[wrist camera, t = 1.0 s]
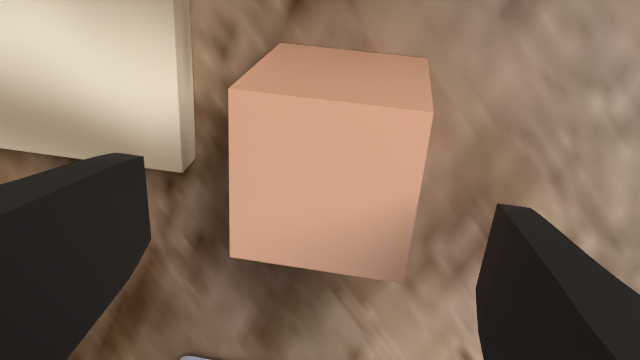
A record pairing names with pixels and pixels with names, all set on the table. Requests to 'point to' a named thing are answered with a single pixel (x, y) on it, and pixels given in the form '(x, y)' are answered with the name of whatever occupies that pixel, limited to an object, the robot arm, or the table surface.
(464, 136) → the table surface
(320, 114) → the salmon pink cube
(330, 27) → the table surface
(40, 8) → the post board
